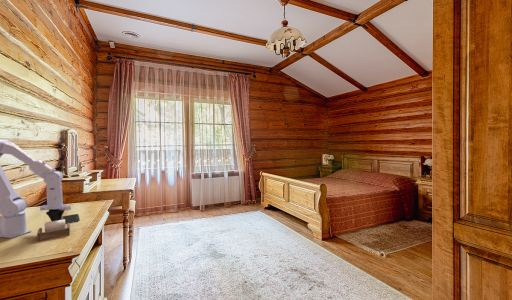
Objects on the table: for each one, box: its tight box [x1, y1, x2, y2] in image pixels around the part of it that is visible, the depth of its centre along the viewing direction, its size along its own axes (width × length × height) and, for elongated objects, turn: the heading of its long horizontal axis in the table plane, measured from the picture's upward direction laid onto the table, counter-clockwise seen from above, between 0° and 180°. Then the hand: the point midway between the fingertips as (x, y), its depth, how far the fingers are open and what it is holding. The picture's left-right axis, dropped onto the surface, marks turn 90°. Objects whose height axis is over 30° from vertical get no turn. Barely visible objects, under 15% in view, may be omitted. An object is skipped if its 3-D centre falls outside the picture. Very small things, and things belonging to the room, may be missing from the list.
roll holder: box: [36, 223, 71, 242], centre depth 107 cm, size 7×11×4 cm
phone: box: [61, 213, 80, 225], centre depth 130 cm, size 8×1×15 cm
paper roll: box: [44, 219, 66, 232], centre depth 112 cm, size 7×5×5 cm
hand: (56, 225), depth 116 cm, fingers closed
